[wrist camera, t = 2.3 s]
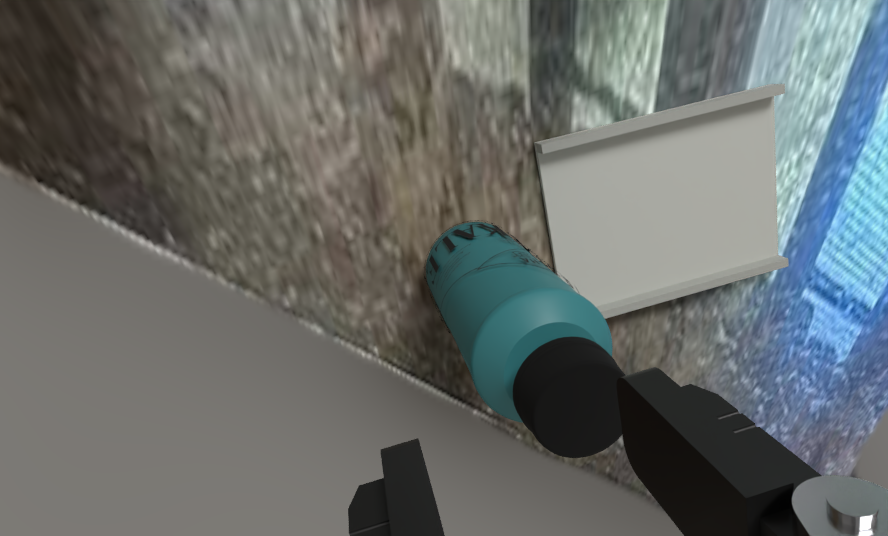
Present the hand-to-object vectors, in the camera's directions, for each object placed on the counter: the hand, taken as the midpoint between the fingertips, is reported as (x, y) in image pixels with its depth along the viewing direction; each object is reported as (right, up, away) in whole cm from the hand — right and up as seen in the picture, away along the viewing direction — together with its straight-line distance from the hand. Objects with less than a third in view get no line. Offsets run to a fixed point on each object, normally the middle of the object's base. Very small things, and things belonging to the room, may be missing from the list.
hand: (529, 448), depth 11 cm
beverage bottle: (0, +4, +28) cm, 28 cm away
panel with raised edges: (+14, +8, +29) cm, 33 cm away
